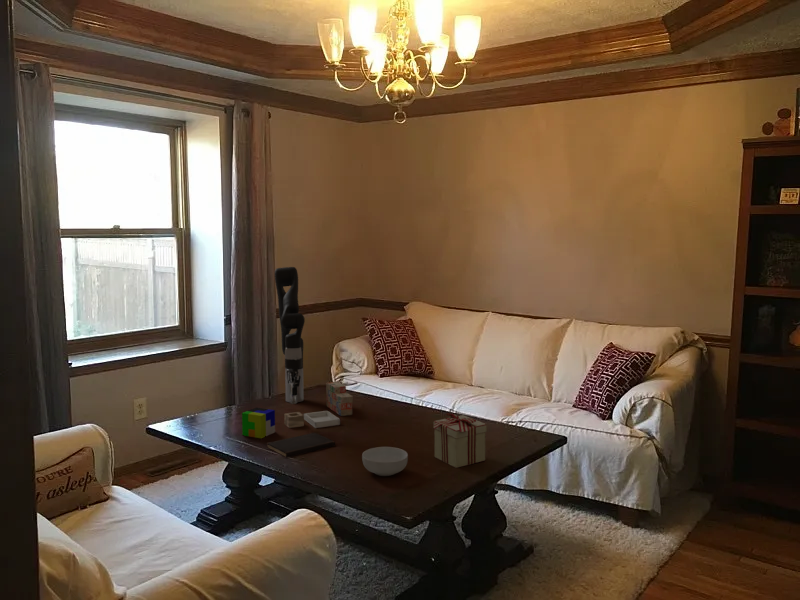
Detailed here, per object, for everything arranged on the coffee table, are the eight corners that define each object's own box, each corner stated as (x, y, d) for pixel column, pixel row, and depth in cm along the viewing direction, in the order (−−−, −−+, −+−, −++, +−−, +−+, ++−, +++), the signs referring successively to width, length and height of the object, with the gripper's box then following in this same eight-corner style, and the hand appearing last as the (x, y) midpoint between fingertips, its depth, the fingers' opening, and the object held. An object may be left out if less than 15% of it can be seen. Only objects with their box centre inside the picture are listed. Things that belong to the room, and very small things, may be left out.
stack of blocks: (352, 415, 324) (352, 390, 323) (340, 416, 322) (340, 391, 320) (337, 404, 344) (337, 381, 342) (326, 405, 341) (325, 382, 340)
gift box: (425, 459, 262) (426, 416, 260) (460, 450, 273) (461, 408, 271) (454, 471, 248) (455, 426, 246) (490, 461, 259) (491, 418, 258)
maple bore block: (284, 424, 309) (284, 413, 308) (298, 422, 312) (298, 411, 311) (289, 428, 302) (288, 417, 302) (303, 426, 306) (303, 415, 305)
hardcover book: (266, 448, 276) (266, 443, 275) (314, 437, 290) (314, 432, 290) (286, 458, 263) (286, 453, 263) (335, 447, 278) (335, 441, 277)
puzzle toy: (275, 432, 296) (274, 410, 295) (261, 438, 287) (261, 415, 286) (256, 429, 300) (256, 407, 299) (242, 435, 291) (242, 413, 290)
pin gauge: (290, 402, 307) (289, 377, 305) (295, 402, 308) (295, 376, 307) (291, 404, 304) (291, 378, 303) (297, 403, 305) (297, 377, 304)
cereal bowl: (352, 474, 245) (352, 455, 244) (379, 461, 259) (379, 443, 258) (391, 484, 236) (391, 464, 235) (416, 470, 250) (416, 452, 249)
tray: (303, 419, 316) (303, 413, 316) (327, 416, 322) (327, 410, 322) (315, 428, 302) (315, 422, 302) (340, 424, 308) (340, 419, 307)
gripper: (280, 355, 308) (281, 392, 310) (289, 360, 296) (290, 398, 298) (296, 354, 312) (296, 390, 314) (306, 359, 299) (306, 397, 301)
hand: (293, 394), depth 306 cm, fingers closed on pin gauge, 2 cm apart
